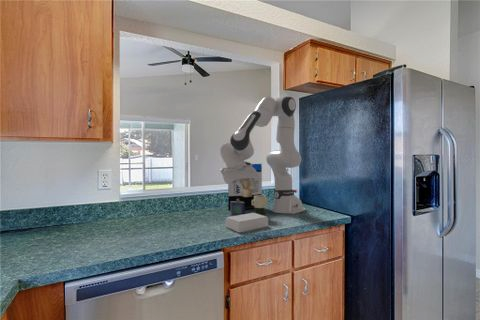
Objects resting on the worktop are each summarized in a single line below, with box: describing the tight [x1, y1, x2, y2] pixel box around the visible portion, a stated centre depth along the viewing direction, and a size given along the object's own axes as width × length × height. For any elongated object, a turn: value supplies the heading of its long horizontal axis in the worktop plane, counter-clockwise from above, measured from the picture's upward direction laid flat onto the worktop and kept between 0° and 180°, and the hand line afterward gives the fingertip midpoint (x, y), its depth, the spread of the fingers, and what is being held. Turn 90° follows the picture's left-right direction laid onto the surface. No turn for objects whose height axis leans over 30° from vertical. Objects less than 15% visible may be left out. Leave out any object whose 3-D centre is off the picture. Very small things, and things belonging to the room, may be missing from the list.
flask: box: [229, 199, 246, 217], centre depth 159 cm, size 9×3×11 cm, turn 65°
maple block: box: [241, 180, 252, 197], centre depth 137 cm, size 4×4×8 cm
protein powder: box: [227, 163, 263, 211], centre depth 182 cm, size 10×24×30 cm, turn 110°
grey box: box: [225, 212, 269, 233], centre depth 138 cm, size 18×12×5 cm, turn 125°
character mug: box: [252, 194, 269, 217], centre depth 154 cm, size 11×7×13 cm, turn 115°
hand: (247, 187), depth 137 cm, fingers closed on maple block, 4 cm apart
